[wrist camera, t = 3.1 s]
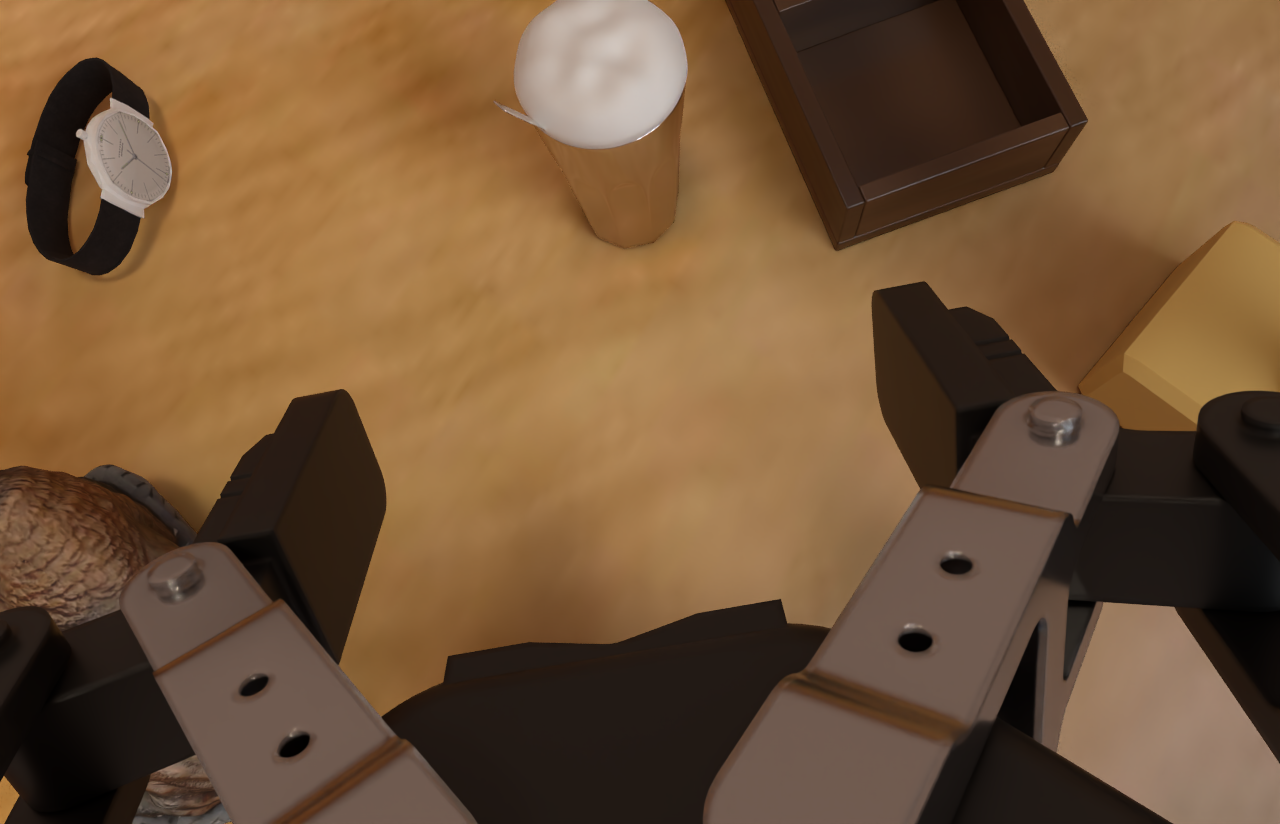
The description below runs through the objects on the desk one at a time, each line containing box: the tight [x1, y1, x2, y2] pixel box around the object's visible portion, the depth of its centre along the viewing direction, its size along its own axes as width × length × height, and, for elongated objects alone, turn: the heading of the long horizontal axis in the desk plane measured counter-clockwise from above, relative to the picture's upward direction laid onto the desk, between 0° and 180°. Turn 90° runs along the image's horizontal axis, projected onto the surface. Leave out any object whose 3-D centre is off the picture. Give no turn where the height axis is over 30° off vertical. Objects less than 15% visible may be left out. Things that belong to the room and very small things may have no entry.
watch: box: [25, 58, 172, 275], centre depth 33 cm, size 8×5×4 cm, turn 3°
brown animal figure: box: [0, 465, 231, 824], centre depth 25 cm, size 12×7×10 cm, turn 47°
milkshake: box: [494, 0, 687, 249], centre depth 28 cm, size 4×5×10 cm
